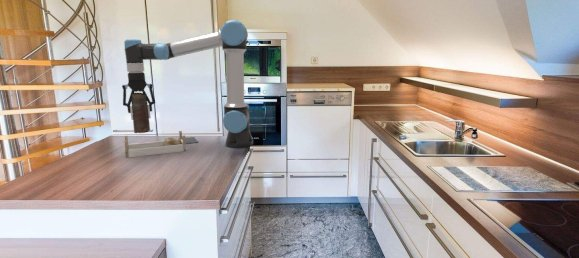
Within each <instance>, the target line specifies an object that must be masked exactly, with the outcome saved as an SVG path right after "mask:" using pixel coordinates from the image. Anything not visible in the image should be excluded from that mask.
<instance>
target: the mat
mask: <svg viewBox="0 0 579 258" xmlns="http://www.w3.org/2000/svg"><path fill="white" fill-rule="evenodd" d="M177 138H178V137H177ZM178 139H180V137H179V138H178ZM182 140H183V139H182ZM185 143H186V145H189V144H199V141H198V140H197V138H195V136H191V137H189V136H188V137H185Z"/></svg>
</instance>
